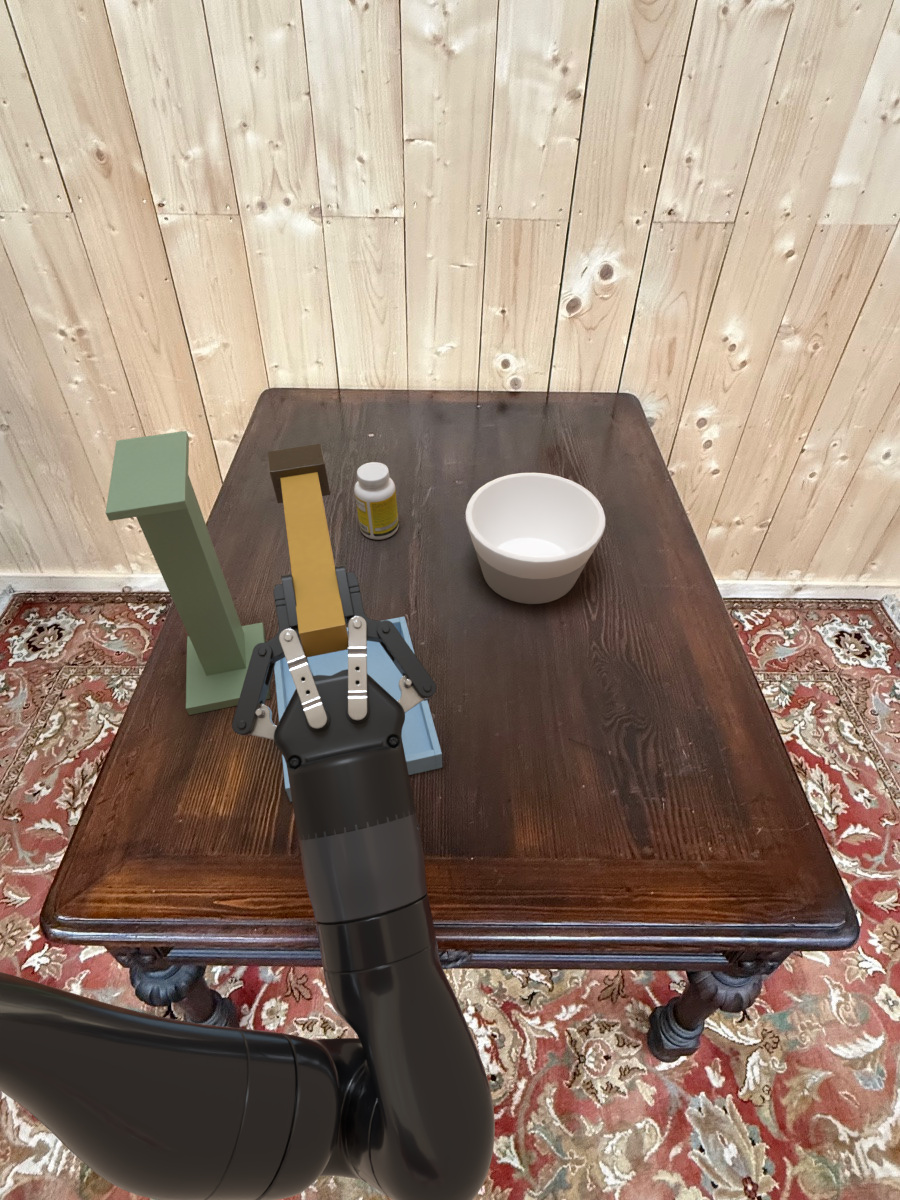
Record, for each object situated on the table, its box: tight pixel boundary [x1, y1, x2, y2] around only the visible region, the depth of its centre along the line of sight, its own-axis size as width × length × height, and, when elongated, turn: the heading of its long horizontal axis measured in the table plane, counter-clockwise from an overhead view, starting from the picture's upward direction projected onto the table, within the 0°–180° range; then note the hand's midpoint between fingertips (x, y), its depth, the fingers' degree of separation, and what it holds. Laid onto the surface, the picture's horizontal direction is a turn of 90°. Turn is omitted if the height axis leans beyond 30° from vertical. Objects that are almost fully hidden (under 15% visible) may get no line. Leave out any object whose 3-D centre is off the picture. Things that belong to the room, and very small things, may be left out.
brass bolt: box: [267, 443, 348, 658], centre depth 52 cm, size 4×20×3 cm, turn 13°
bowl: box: [465, 472, 607, 605], centre depth 99 cm, size 19×19×11 cm
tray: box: [273, 616, 443, 803], centre depth 85 cm, size 18×22×3 cm
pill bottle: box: [353, 461, 400, 541], centre depth 106 cm, size 6×6×11 cm
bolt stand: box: [105, 430, 271, 716], centre depth 79 cm, size 10×12×32 cm
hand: (313, 574), depth 47 cm, fingers closed on brass bolt, 3 cm apart
